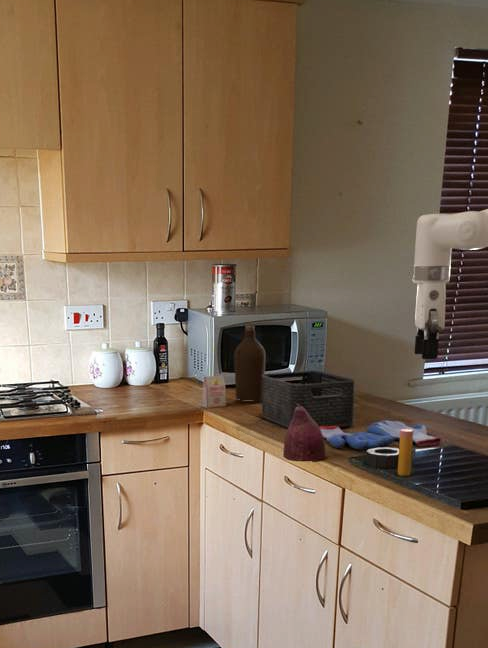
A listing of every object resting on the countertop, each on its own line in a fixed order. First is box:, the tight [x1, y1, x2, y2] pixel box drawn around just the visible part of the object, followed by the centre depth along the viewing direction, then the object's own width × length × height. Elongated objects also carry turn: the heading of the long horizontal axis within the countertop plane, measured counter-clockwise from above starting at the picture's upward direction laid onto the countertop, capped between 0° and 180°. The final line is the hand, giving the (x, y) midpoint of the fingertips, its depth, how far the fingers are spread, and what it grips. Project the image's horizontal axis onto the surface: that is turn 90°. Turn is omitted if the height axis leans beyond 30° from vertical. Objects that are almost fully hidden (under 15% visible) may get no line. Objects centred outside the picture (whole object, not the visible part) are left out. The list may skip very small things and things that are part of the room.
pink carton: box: [202, 375, 227, 409], centre depth 290 cm, size 4×7×10 cm, turn 108°
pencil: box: [397, 429, 414, 477], centre depth 195 cm, size 3×3×10 cm
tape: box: [365, 446, 399, 469], centre depth 207 cm, size 9×9×3 cm
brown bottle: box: [233, 325, 267, 404], centre depth 295 cm, size 11×11×25 cm
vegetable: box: [283, 404, 327, 463], centre depth 213 cm, size 10×10×15 cm
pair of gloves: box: [319, 419, 442, 451], centre depth 232 cm, size 32×26×4 cm
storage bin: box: [261, 370, 355, 429], centre depth 258 cm, size 29×19×13 cm
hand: (425, 356), depth 194 cm, fingers open, 9 cm apart
